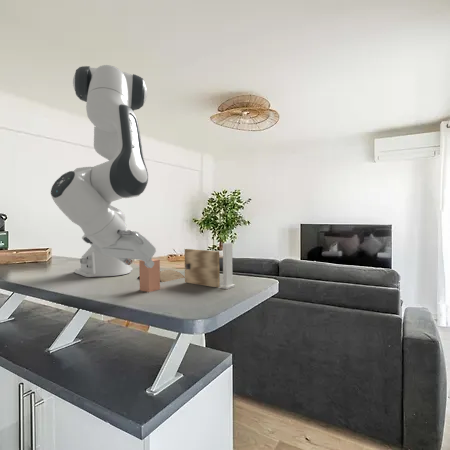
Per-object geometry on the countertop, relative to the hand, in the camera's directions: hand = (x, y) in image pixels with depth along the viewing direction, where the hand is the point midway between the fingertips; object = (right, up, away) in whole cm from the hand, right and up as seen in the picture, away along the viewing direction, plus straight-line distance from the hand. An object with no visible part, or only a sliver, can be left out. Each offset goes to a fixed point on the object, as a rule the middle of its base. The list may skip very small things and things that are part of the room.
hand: (140, 264), depth 86 cm
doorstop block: (+2, -8, +3) cm, 8 cm away
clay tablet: (+2, -8, +21) cm, 22 cm away
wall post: (+24, -7, +5) cm, 26 cm away
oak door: (+16, -7, +8) cm, 19 cm away
